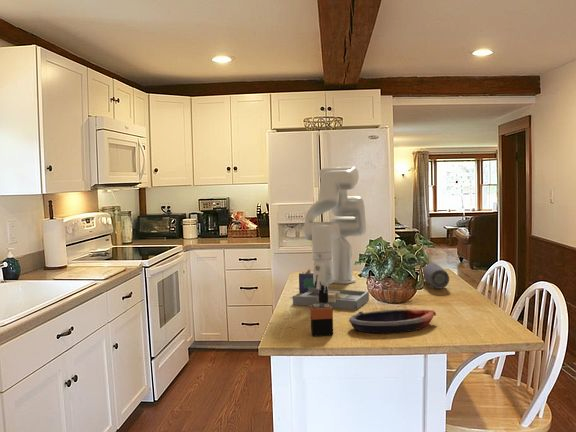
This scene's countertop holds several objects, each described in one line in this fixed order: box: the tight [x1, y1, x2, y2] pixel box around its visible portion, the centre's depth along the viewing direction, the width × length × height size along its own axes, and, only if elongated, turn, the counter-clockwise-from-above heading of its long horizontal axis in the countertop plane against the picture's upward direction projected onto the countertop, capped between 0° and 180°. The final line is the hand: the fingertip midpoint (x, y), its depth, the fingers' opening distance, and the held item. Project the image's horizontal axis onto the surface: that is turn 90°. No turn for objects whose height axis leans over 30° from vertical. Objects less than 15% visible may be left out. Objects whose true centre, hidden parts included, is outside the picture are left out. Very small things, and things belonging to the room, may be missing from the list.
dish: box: [348, 308, 437, 334], centre depth 171 cm, size 16×31×5 cm, turn 99°
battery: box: [309, 304, 334, 337], centre depth 165 cm, size 4×7×10 cm, turn 95°
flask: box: [298, 269, 317, 295], centre depth 225 cm, size 9×3×11 cm, turn 88°
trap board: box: [292, 287, 370, 311], centre depth 207 cm, size 16×27×4 cm, turn 64°
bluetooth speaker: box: [423, 261, 450, 289], centre depth 231 cm, size 23×9×10 cm, turn 178°
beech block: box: [328, 290, 340, 302], centre depth 203 cm, size 6×6×3 cm
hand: (323, 302), depth 197 cm, fingers closed
